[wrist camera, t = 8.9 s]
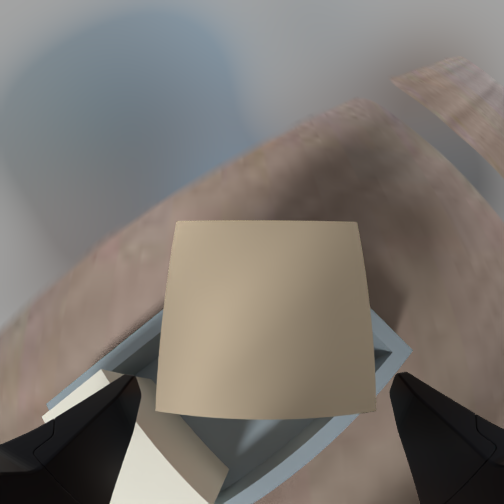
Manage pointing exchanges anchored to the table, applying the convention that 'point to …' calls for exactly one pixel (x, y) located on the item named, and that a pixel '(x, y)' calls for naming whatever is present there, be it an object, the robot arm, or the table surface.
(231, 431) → the tote
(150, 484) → the cream rectangular block
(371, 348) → the oat carton
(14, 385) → the table surface
